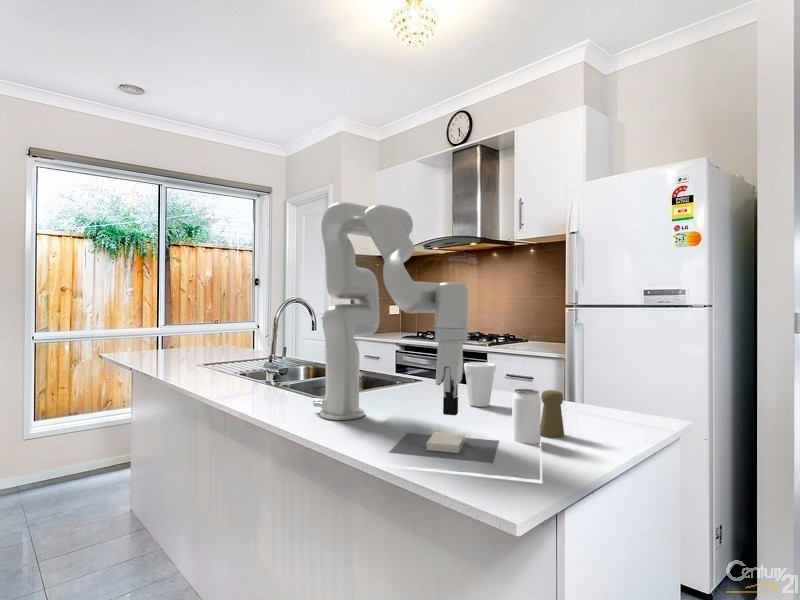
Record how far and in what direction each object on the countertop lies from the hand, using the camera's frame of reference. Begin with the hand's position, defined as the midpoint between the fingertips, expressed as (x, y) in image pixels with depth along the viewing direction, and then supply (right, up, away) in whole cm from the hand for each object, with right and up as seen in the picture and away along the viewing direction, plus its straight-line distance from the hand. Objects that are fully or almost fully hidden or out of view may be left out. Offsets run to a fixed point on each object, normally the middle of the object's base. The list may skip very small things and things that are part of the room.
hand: (450, 414), depth 114 cm
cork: (+26, -7, +7) cm, 28 cm away
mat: (-1, -7, -5) cm, 8 cm away
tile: (0, -5, 0) cm, 5 cm away
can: (+18, -7, +1) cm, 19 cm away
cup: (+13, -7, +40) cm, 43 cm away
